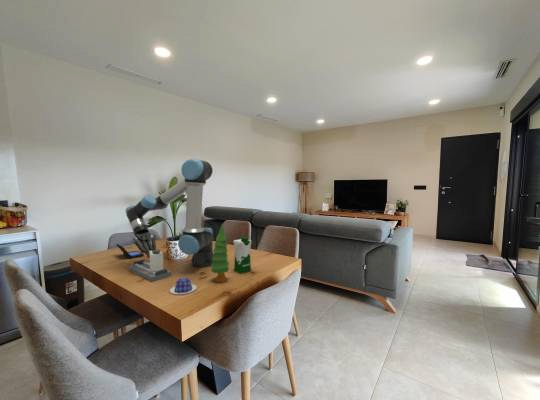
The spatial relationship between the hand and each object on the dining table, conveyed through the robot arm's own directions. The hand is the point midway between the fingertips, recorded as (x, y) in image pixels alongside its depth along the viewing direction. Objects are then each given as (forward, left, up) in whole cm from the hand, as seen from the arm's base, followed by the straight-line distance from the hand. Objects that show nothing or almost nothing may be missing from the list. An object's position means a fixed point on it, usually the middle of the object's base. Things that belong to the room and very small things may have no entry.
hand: (153, 261), depth 136 cm
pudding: (-25, +15, -8) cm, 31 cm away
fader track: (+5, -3, -8) cm, 9 cm away
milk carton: (-46, -15, -8) cm, 49 cm away
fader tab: (-2, +1, -5) cm, 6 cm away
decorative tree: (-38, +1, -8) cm, 39 cm away
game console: (+39, -32, -8) cm, 51 cm away
